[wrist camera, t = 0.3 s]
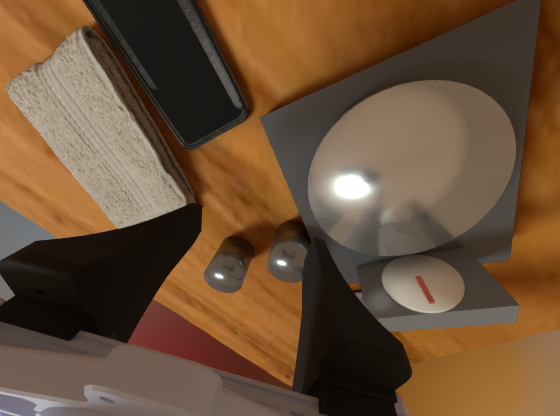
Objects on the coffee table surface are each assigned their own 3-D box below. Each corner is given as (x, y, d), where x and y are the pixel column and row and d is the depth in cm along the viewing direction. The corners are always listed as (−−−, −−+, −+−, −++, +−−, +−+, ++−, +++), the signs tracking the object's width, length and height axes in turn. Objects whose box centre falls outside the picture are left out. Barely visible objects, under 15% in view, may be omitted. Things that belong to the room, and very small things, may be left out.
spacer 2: (316, 245, 25) (317, 278, 21) (283, 253, 26) (277, 285, 22) (304, 216, 23) (302, 246, 19) (269, 226, 25) (260, 255, 20)
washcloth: (137, 226, 28) (119, 240, 26) (23, 84, 21) (-20, 83, 18) (208, 207, 25) (196, 221, 22) (104, 27, 17) (65, 16, 15)
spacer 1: (258, 258, 28) (248, 289, 23) (231, 264, 29) (216, 295, 25) (244, 233, 26) (229, 262, 21) (215, 240, 27) (196, 269, 23)
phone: (124, -137, 12) (251, 117, 18) (138, -121, 13) (254, 115, 19) (53, -40, 15) (185, 153, 21) (70, -32, 16) (191, 150, 22)
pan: (499, 231, 17) (507, 237, 17) (333, 262, 22) (333, 267, 21) (516, 33, 11) (529, 30, 11) (283, 130, 16) (281, 132, 15)
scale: (490, 242, 21) (580, 322, 14) (329, 270, 27) (334, 338, 19) (505, 4, 13) (744, -99, 6) (266, 114, 18) (234, 131, 11)
